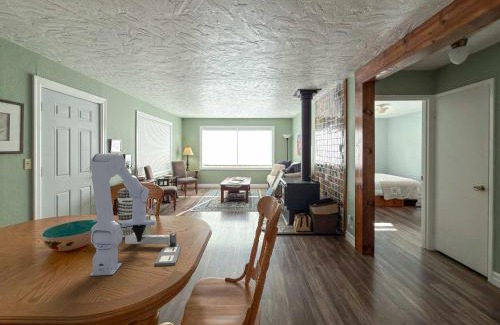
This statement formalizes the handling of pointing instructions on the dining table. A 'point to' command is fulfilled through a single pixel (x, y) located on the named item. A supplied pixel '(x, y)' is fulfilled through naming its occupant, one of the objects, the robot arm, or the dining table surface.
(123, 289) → the dining table surface
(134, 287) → the dining table surface
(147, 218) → the skincare box
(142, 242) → the swing arm
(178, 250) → the label board
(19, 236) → the dining table surface
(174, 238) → the grey joystick
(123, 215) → the decorative candle
